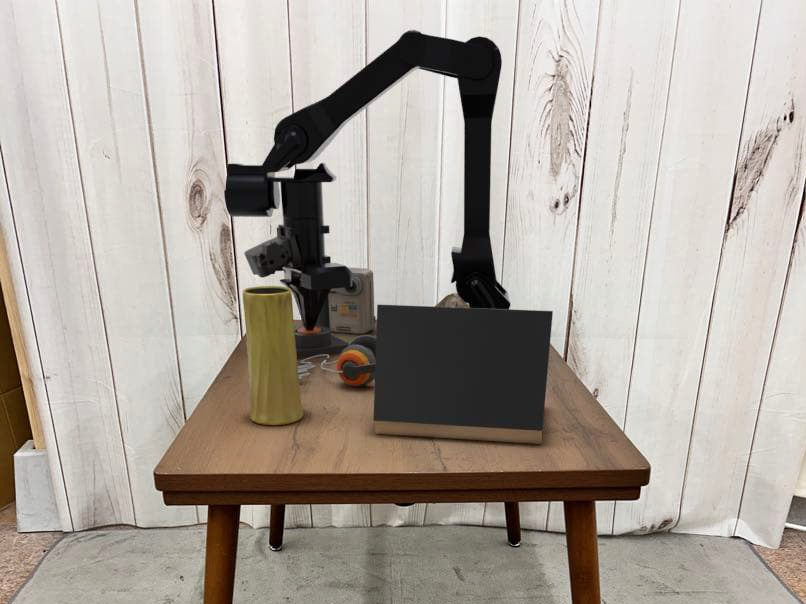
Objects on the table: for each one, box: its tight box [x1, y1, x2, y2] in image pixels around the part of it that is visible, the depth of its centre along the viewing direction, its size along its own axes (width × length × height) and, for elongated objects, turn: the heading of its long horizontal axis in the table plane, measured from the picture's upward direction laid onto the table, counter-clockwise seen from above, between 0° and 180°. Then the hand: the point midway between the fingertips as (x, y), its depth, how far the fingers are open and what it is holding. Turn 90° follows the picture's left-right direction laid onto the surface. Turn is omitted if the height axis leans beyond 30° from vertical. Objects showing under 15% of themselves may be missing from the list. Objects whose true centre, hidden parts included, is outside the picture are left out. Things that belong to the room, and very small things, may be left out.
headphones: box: [297, 334, 376, 387], centre depth 103 cm, size 17×5×20 cm
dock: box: [294, 325, 350, 360], centre depth 117 cm, size 10×8×3 cm
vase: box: [242, 285, 304, 426], centre depth 87 cm, size 6×6×14 cm
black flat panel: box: [372, 304, 554, 432], centre depth 81 cm, size 12×18×1 cm
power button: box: [297, 327, 321, 334], centre depth 117 cm, size 4×4×2 cm
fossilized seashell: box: [433, 292, 470, 308], centre depth 129 cm, size 8×7×10 cm
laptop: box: [374, 421, 543, 445], centre depth 89 cm, size 12×18×2 cm, turn 80°
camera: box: [315, 266, 377, 335], centre depth 128 cm, size 11×6×10 cm, turn 67°
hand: (309, 329), depth 117 cm, fingers closed, pressing on power button
